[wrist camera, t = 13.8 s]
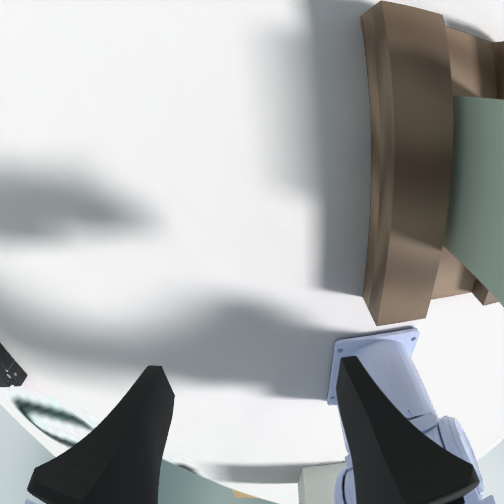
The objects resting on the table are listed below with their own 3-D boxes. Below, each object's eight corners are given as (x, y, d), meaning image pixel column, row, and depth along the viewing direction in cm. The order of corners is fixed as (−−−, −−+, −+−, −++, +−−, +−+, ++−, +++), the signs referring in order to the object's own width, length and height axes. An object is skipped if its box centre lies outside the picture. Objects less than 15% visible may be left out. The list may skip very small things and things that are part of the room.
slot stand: (492, 277, 21) (512, 298, 18) (362, 297, 22) (376, 326, 19) (511, 57, 12) (539, 57, 9) (360, 16, 13) (380, 0, 10)
